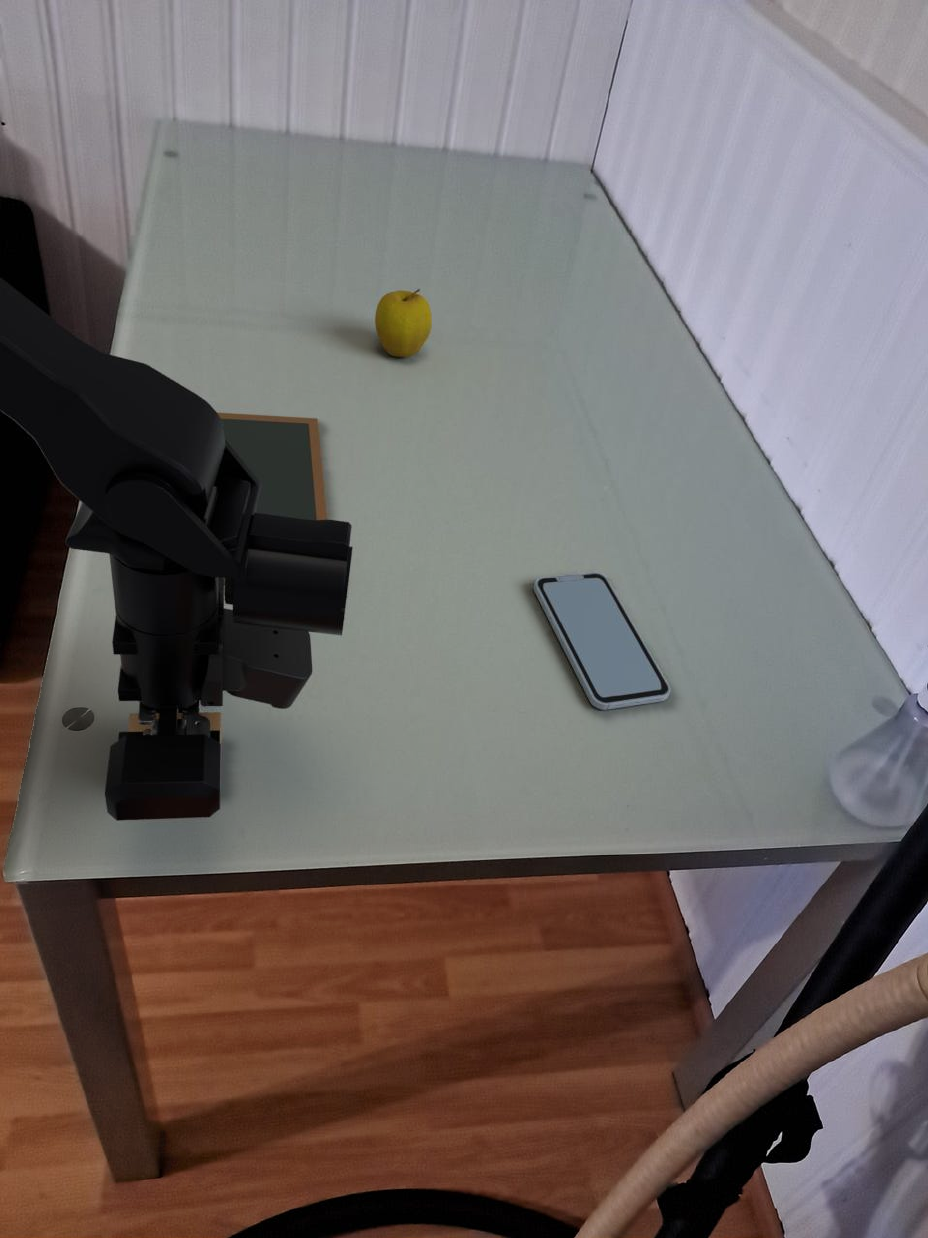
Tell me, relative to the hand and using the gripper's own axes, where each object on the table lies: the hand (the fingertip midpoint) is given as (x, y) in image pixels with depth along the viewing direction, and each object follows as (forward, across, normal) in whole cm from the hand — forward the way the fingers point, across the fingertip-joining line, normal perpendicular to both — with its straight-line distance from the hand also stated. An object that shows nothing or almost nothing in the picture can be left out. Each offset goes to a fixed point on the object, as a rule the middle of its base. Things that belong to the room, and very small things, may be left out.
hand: (175, 762), depth 66 cm
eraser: (+1, 0, 0) cm, 1 cm away
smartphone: (+1, +13, -35) cm, 37 cm away
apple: (+1, +59, -22) cm, 63 cm away
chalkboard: (+1, +31, -4) cm, 31 cm away
